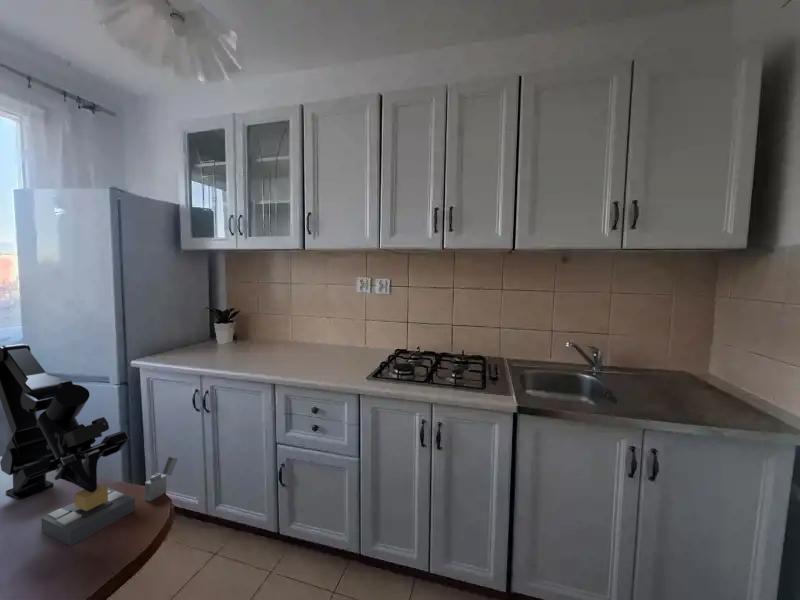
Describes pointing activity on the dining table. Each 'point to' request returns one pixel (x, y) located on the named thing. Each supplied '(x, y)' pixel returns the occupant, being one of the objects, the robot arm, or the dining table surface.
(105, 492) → the key
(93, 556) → the dining table surface
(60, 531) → the keypad
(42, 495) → the dining table surface
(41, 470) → the robot arm
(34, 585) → the dining table surface
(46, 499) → the dining table surface
